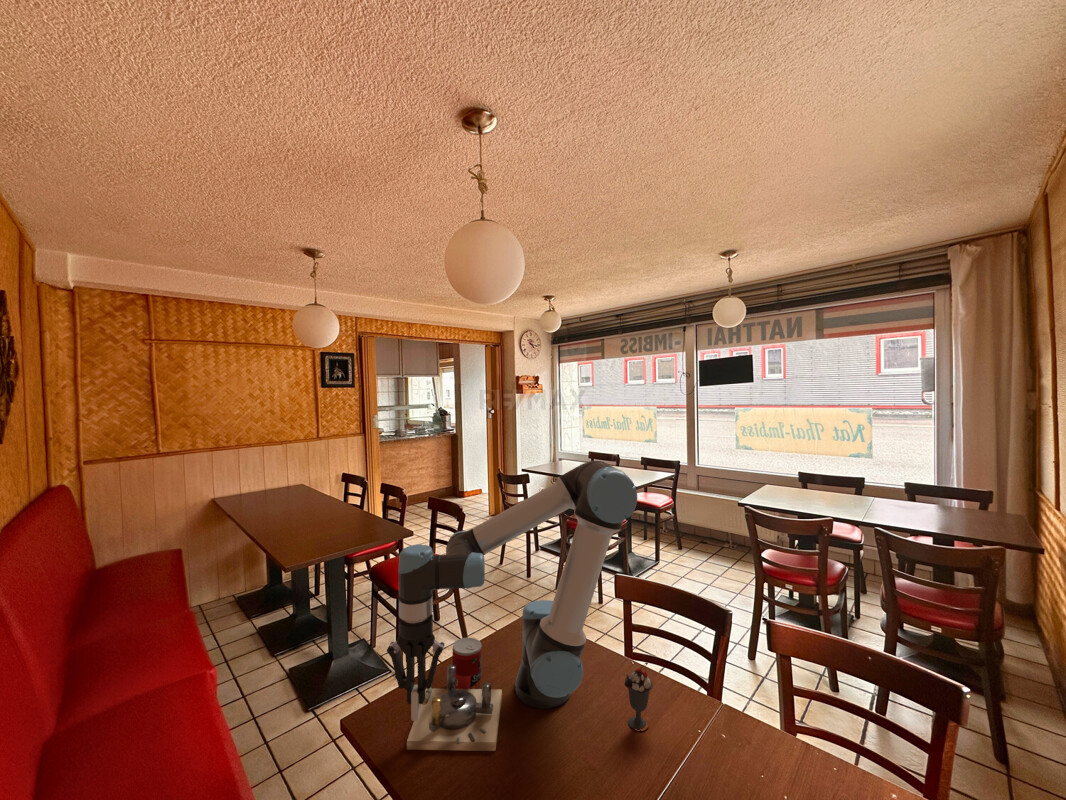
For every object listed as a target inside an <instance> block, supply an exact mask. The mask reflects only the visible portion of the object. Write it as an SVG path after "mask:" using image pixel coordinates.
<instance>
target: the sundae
mask: <svg viewBox="0 0 1066 800" xmlns="http://www.w3.org/2000/svg"><path fill="white" fill-rule="evenodd" d="M647 665H648V662H644V665H643V666H642V667H638V668H637V669H636V670H633V672H631V674H630V675H628V673H626V674H625V676H626V678H625V679H624V687H626V688H627V690H628V698H629V699H628V700H629V703H630V706H631V708H632V709H633V710H634V711H635V715H633V716H634V717H633V716H631V717H629V718H628V721H627V725H628V724H629V725H628V726H629V728H630V727H631V728H633V729H634V730H633V729H632V730H633V731H635V729H637V730H640V729H643V728H644V727H645V726H646V721H647V720H646V719H645V718H644V719H645V720H646V721H645V720H644V719H643V717H642V712H643V711H645V710H646V709H647V708H648V703H649V698H650V697H649V695H650V692H651V691H652V690H653V687H654V685H653V682H652V681H651V680H650V678H649V675H648V672H647V671H646V670H644V671H643V668H644V669H646V668H647ZM635 716H636V717H635ZM641 717H642V718H641ZM640 731H641V730H640Z"/></svg>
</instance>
